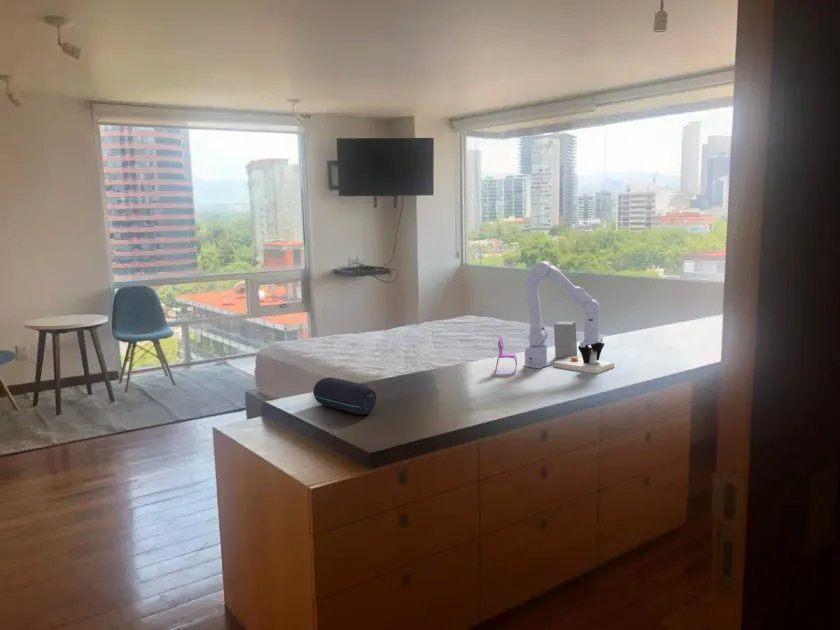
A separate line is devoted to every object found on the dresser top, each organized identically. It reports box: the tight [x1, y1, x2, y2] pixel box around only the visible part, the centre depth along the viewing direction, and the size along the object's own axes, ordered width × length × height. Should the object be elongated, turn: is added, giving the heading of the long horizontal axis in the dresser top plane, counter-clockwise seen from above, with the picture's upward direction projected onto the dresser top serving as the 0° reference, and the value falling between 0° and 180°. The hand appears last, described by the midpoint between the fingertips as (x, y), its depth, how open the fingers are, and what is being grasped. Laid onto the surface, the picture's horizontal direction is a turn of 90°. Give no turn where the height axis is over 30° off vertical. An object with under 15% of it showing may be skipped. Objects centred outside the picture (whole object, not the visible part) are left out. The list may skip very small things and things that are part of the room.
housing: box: [553, 356, 615, 375], centre depth 272 cm, size 14×20×2 cm
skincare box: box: [553, 321, 578, 359], centre depth 291 cm, size 8×7×16 cm
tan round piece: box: [571, 356, 578, 362], centre depth 275 cm, size 3×3×3 cm
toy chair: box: [494, 335, 518, 374], centre depth 267 cm, size 8×9×15 cm
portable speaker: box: [312, 376, 377, 416], centre depth 220 cm, size 25×10×10 cm, turn 48°
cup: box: [587, 351, 597, 365], centre depth 269 cm, size 4×4×7 cm
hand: (591, 361), depth 269 cm, fingers open, 7 cm apart
